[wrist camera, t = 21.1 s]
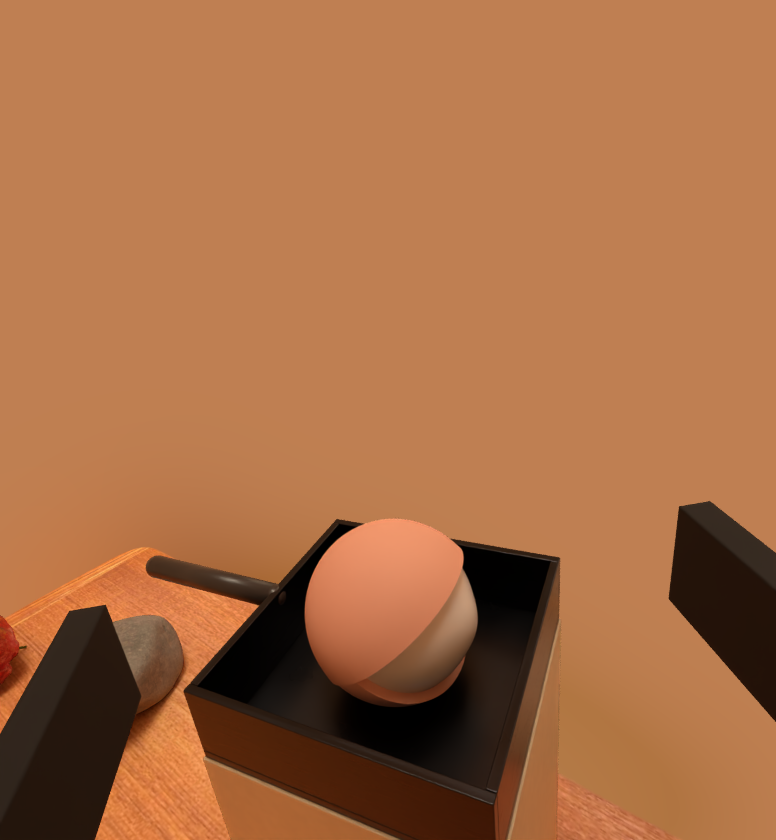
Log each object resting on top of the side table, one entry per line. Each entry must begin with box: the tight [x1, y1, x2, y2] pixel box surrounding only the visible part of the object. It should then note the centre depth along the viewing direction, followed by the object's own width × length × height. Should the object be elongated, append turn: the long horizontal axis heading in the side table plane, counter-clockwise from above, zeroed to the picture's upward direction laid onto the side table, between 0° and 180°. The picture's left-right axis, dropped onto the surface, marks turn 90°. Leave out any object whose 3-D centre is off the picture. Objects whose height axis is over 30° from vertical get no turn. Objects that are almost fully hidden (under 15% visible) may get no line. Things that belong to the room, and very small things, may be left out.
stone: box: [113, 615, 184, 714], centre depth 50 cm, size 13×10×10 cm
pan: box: [146, 519, 560, 840], centre depth 28 cm, size 22×13×4 cm, turn 66°
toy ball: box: [305, 519, 478, 707], centre depth 25 cm, size 8×8×8 cm
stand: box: [203, 619, 561, 840], centre depth 31 cm, size 13×13×19 cm
